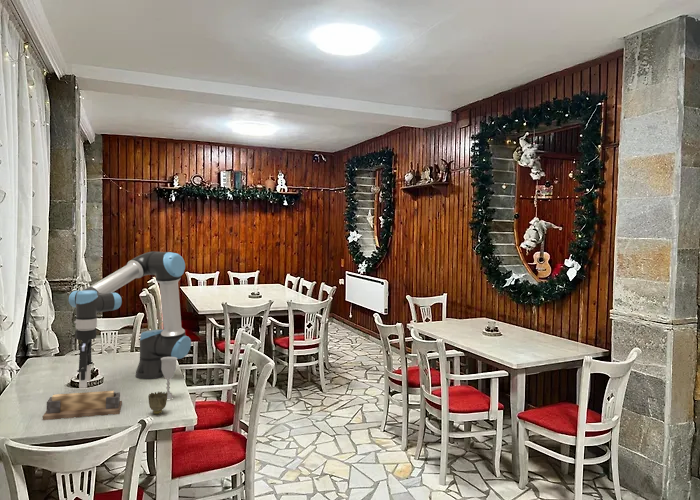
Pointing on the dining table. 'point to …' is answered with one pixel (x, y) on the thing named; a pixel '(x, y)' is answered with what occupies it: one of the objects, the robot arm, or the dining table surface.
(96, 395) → the slat
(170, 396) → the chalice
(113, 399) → the cradle
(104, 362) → the dining table surface
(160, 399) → the cup
